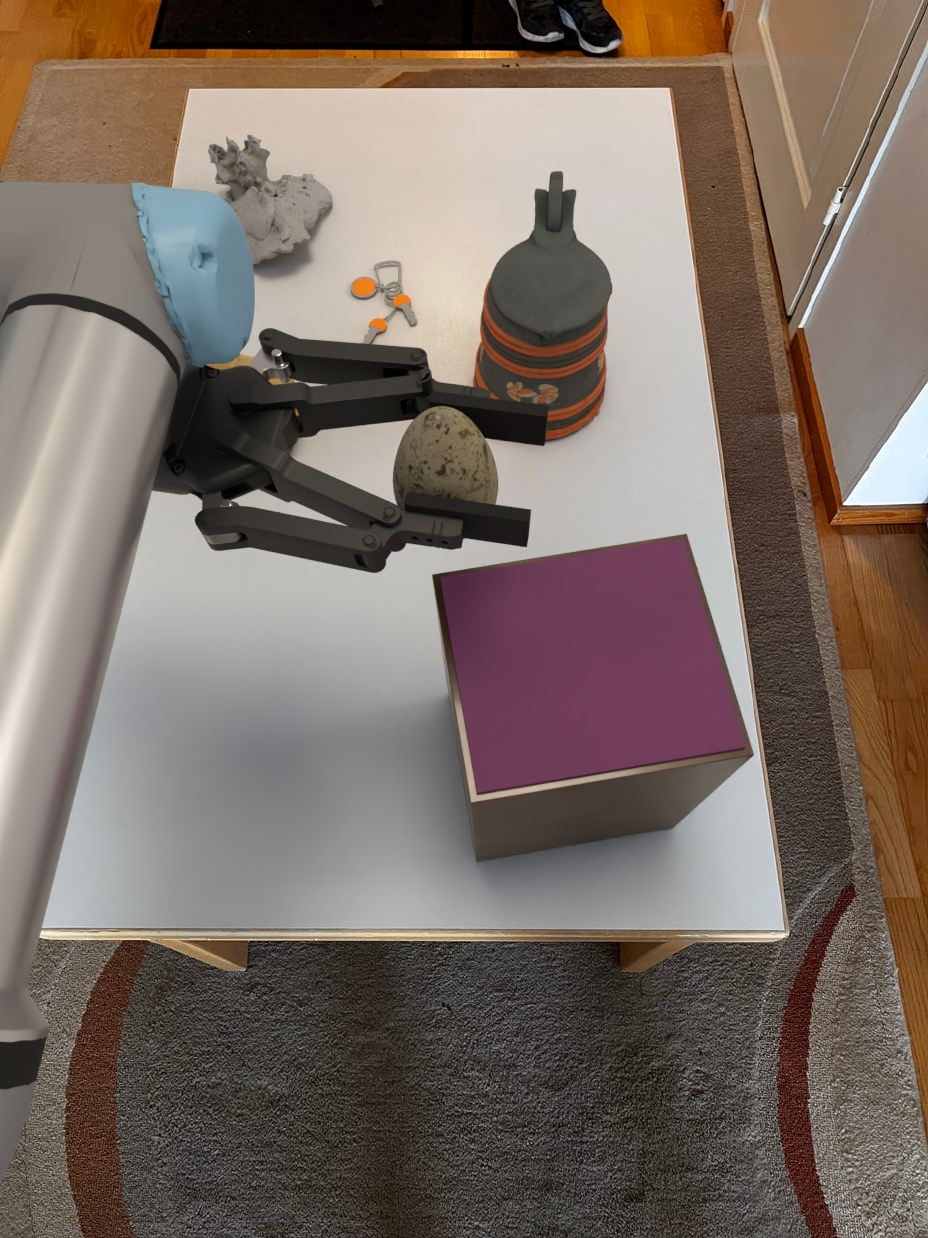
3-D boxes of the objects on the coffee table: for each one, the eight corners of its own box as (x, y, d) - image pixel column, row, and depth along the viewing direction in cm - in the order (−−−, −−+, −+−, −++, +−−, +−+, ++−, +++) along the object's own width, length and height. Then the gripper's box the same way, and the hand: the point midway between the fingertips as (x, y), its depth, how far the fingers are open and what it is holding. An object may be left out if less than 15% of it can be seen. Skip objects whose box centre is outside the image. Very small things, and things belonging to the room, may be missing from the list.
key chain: (348, 268, 105) (347, 262, 105) (408, 260, 106) (407, 255, 105) (357, 350, 100) (356, 345, 99) (420, 342, 100) (420, 337, 100)
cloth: (476, 794, 54) (476, 793, 53) (440, 579, 60) (439, 576, 59) (744, 748, 54) (746, 747, 54) (681, 540, 60) (683, 537, 60)
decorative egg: (444, 581, 51) (434, 490, 42) (380, 516, 53) (356, 416, 44) (518, 521, 53) (523, 420, 44) (452, 460, 55) (445, 352, 45)
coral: (240, 197, 114) (210, 120, 106) (340, 188, 112) (317, 108, 103) (209, 280, 105) (173, 203, 97) (316, 271, 103) (289, 191, 94)
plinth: (476, 862, 77) (470, 803, 54) (448, 693, 84) (431, 573, 60) (673, 828, 78) (754, 755, 54) (631, 663, 84) (687, 533, 61)
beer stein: (474, 308, 103) (470, 158, 84) (599, 306, 102) (623, 156, 84) (472, 442, 95) (468, 310, 77) (607, 442, 95) (635, 309, 76)
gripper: (201, 336, 56) (556, 382, 54) (101, 597, 49) (509, 662, 47) (160, 244, 49) (566, 291, 47) (38, 532, 42) (512, 604, 40)
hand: (537, 476), depth 47 cm, fingers closed on decorative egg, 6 cm apart
